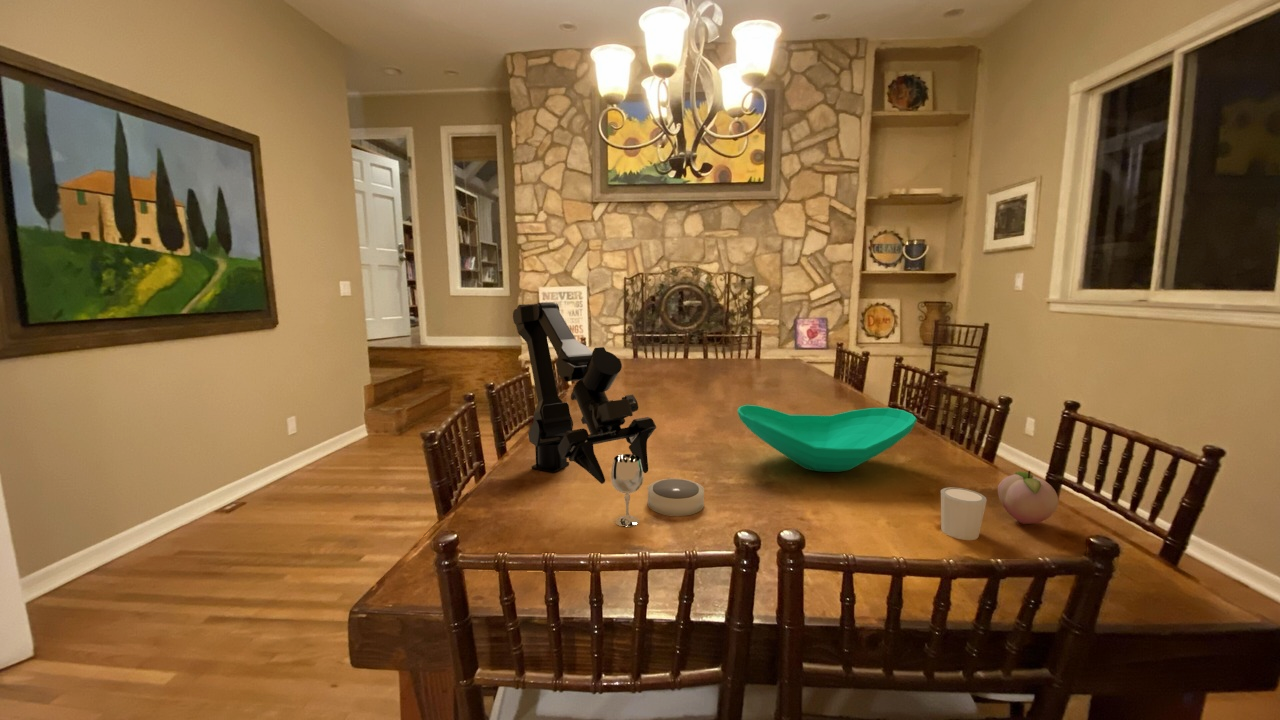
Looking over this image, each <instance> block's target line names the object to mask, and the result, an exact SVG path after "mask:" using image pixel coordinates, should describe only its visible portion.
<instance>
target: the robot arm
mask: <svg viewBox="0 0 1280 720" xmlns="http://www.w3.org/2000/svg"><path fill="white" fill-rule="evenodd" d="M512 320H513V323H514V325H515V326H516V327H515V328H516V330H517V334H518V336H520V337H521V338H522V339H523V341H525V343H526V345H527V349H528V350H527V351H528V355H529V360H530V367H531V371H532V377H533V382H534V387H535V393H536V398H537V404H536V406H535V409H534V411H533V422H532V425H531V426H530V427H529V430H528V433H527V434H528V440H529V443H531V444H532V445H534V447H535V464H533V465H531V469H533V470H539V471H543V472H547V473H556V472H558V471H560V470H562V469H563V468H566V467H567V466H569V465H570V462H575V463H576V464H578V466H580V467H581V468H582V469H584V470H585V471H586V472H587V473H589V474H590V475H591V476H592V477H593V478H594V479H595V480H596V481H598V482H599V483H600V484H601V485H602V484H605V483H606V478H605V475H604V472H603V470H602V468H601V465H600V463H599V461H598V458H597V456H596V454H595V450H594V445H598V444H602V443H608V442H611V441H612V442H614V441H617V440H623V439H624V440H626V442H627V443H628V444H630V445H629V446H628V449H629V450H630V452H631V454H633V455H637V456H639V457H640V460H641V464H642V468H643V474H646V473H648V472H649V462H648V460H649V459H648V450H647V449H648V448H647V447H648V439H649V438H650V437H651V436H652V434H653V433H654V432H655V430H656V429H657V425H656V423H655V421H654V420H653V418H651V417H649V416H646V417H640V418H639V417H638V418H634V419H632V421H631V422H630V424H629V425H628V426H627V427H622V428H621V426H622V425H624V424H625V422H626V419H625V418H628V417H633V416H634V415H633V413H635V412H637V411H639V404H638V401H637V399H636V397H635V395H634V394H627V395H624V396H622V397H621V399H617V400H609V398H608V396H607V393H606V392H607V391H609V390H610V389H611V387H612V385H613V383H614V382H615V381H616V379H617V377H618V375H619V374H620V372H621V370H622V368H623V366H622V364H623V363H622V361H621V359H620V358H619V357H617V355H615V354H614V353H612V352H610V351H607V350H606V348H605V346H599V347H594V349H593V351H592V350H591V349H590V348H589V347H588V346H587V345H585V344H584V343H581V342H580V341H578V339H576V337H575V335H574V334H573V332H572V329H571V328H570V327H569V325H568V324H567V322H566V320H565V319H564V317H563V315H562V313H561V312H560V306H559V304H558V303H555V302H553V301H551V302H546V301H545V302H537V303H534V304H533V303H530V304H529V303H528V304H523V303H522V304H518V305H517V306H516V308H515V309H514V310H513V312H512ZM548 340H549V341H548ZM549 342H550V344H551V346H552V348H553V350H554V351H555V353H556V356H557V360H556V364H555V366H556V368H557V373H558V375H559V376H560V378H561V379H562V380H563V381H564V382H576V381H577V382H576V383H575V385H574V386H573V387H572V388H573V389H572V393H571V394H570V399H571V401H575V400H576V403H577V404H578V407H579V410H580V412H581V415H582V418H581V419H580V420H581V423H582V425H585V424H586V426H587V429H588V430H587V429H585V428H583V427H582V428H578V429H574V428H573V427H574V421H573V418H572V415H571V412H570V406H569V404H568V402H567V401H565V402H563V400H562V399H561V398H560V396H559V393H558V388H557V383H556V377H555V372H554V367H553V362H552V357H551V351H550V347H549ZM567 459H568V460H567Z"/></svg>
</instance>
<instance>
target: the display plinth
mask: <svg viewBox="0 0 1280 720" xmlns="http://www.w3.org/2000/svg"><path fill="white" fill-rule="evenodd" d="M704 501H705V488H704V487H703V486H702V485H701V484H700V483H697V482H696V481H693V480H690V479H684V478H663V479H659V480H656V481H653V482H652V483H650V484H649V485H648V487H647V506H648V508H649V509H650V508H651V509H652V510H651V509H650V510H651V511H653V512H655V513H657V514H660V515H664V516H668V517H669V516H670V517H686V516H691V515H695V514H696V513H697V514H698V513H699V512H701V511H702V510H703V509H704V506H705V502H704Z"/></svg>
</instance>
